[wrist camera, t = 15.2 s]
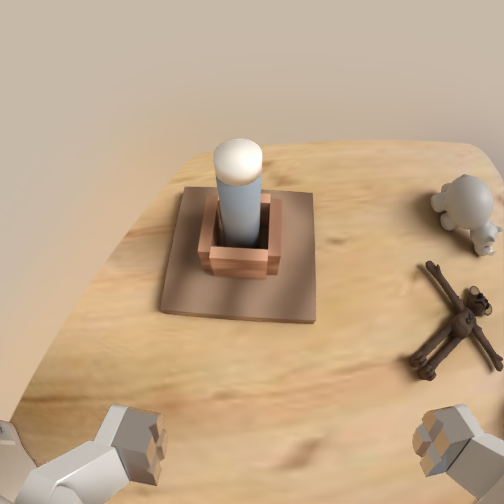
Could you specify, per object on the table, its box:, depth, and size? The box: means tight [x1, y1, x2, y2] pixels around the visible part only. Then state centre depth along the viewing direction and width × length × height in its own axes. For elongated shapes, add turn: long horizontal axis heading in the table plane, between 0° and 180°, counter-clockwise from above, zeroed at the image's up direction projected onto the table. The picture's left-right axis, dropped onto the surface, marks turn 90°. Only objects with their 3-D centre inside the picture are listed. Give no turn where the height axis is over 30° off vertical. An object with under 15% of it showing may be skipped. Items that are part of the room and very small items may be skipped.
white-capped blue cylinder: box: [214, 139, 262, 249], centre depth 29 cm, size 4×4×14 cm
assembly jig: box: [160, 187, 316, 324], centre depth 34 cm, size 16×16×6 cm
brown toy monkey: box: [409, 261, 503, 381], centre depth 30 cm, size 18×4×14 cm
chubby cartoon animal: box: [431, 174, 503, 256], centre depth 35 cm, size 7×12×8 cm, turn 34°
